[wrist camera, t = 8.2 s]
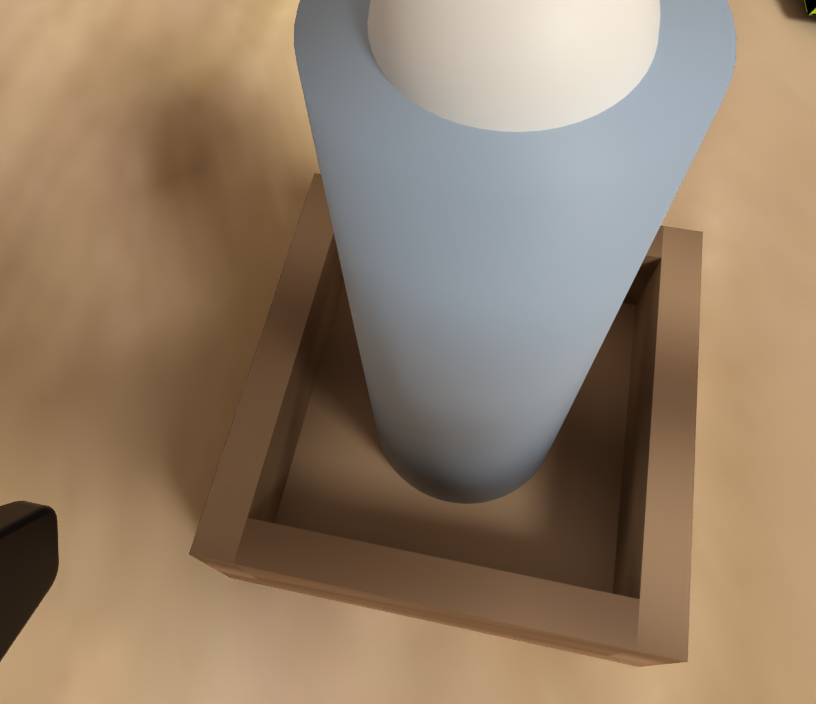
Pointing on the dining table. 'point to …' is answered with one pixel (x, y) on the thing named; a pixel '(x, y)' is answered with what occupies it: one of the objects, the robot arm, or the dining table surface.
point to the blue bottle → (498, 202)
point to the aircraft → (810, 7)
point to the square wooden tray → (481, 522)
